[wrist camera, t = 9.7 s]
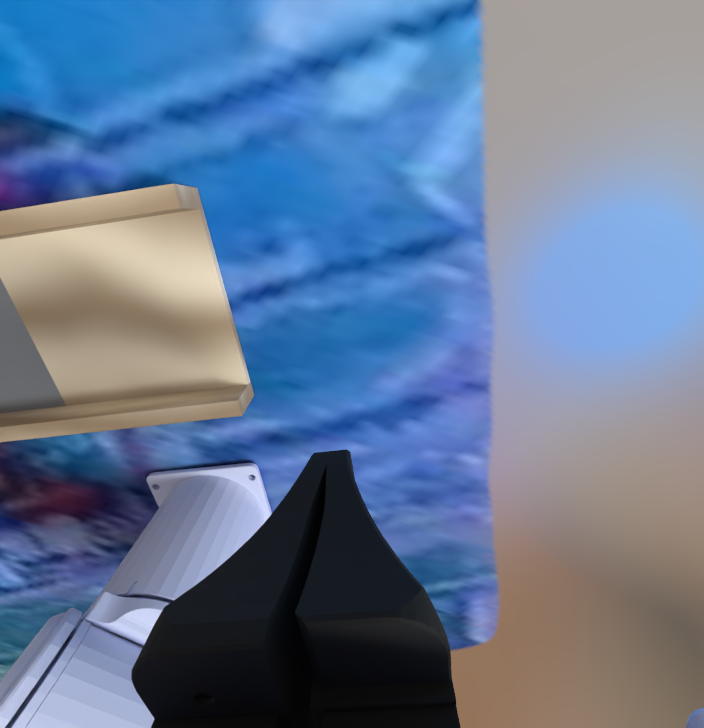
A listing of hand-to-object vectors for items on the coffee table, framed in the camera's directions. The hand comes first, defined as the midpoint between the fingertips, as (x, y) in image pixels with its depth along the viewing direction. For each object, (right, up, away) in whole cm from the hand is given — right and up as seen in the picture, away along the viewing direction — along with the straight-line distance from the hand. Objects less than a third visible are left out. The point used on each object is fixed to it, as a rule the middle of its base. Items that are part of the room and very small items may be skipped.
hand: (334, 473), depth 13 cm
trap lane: (-22, +6, +8) cm, 24 cm away
